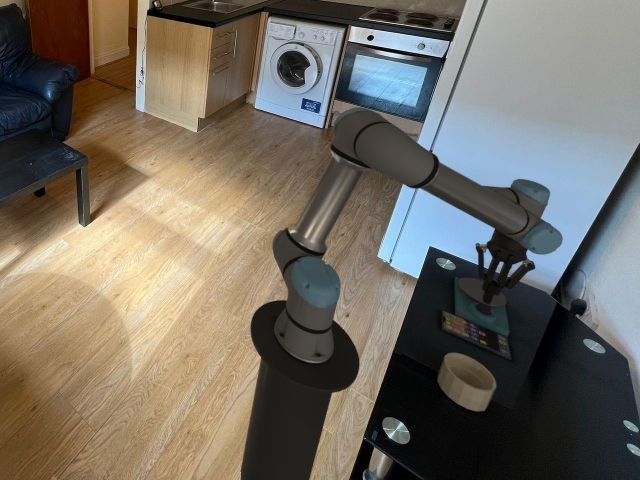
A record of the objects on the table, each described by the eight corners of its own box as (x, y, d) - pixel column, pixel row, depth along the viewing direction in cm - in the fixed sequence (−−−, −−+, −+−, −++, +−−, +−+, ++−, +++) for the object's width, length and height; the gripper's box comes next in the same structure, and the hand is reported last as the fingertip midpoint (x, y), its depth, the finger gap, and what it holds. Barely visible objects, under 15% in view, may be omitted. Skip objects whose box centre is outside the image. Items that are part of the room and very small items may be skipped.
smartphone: (510, 360, 108) (512, 356, 108) (441, 330, 116) (442, 327, 116) (506, 339, 114) (507, 336, 114) (441, 312, 123) (442, 309, 122)
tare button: (490, 316, 118) (491, 312, 117) (476, 311, 119) (478, 307, 119) (489, 310, 120) (490, 306, 120) (476, 305, 122) (477, 301, 121)
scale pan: (458, 294, 125) (459, 293, 125) (458, 273, 134) (458, 272, 134) (508, 313, 119) (508, 312, 119) (504, 290, 128) (504, 289, 127)
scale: (507, 337, 115) (511, 327, 114) (454, 315, 122) (458, 306, 121) (501, 298, 129) (504, 290, 128) (454, 281, 136) (457, 272, 134)
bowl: (436, 395, 98) (444, 373, 96) (437, 365, 106) (444, 345, 104) (488, 422, 93) (498, 400, 91) (485, 389, 100) (494, 368, 98)
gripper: (483, 229, 112) (458, 297, 119) (548, 250, 105) (517, 320, 112) (482, 217, 118) (458, 282, 125) (543, 236, 110) (514, 304, 118)
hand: (486, 300), depth 119 cm, fingers closed
